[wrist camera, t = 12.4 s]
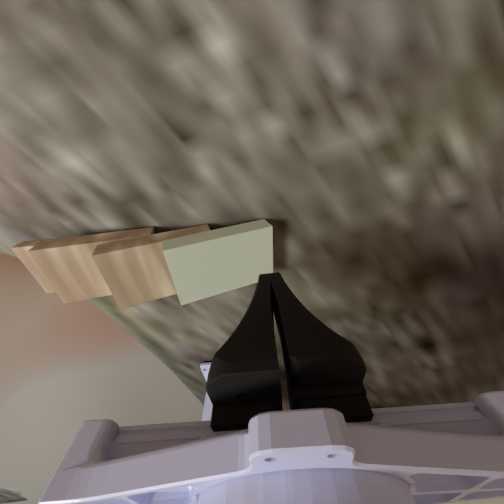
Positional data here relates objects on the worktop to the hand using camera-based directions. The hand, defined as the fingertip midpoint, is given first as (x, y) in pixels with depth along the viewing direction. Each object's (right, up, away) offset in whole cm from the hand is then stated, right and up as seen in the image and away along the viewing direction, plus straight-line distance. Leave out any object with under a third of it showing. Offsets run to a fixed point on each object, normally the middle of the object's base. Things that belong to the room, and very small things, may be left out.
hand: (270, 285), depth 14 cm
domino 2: (-5, +2, +4) cm, 7 cm away
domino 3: (-9, +2, +4) cm, 10 cm away
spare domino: (0, +2, +4) cm, 5 cm away
